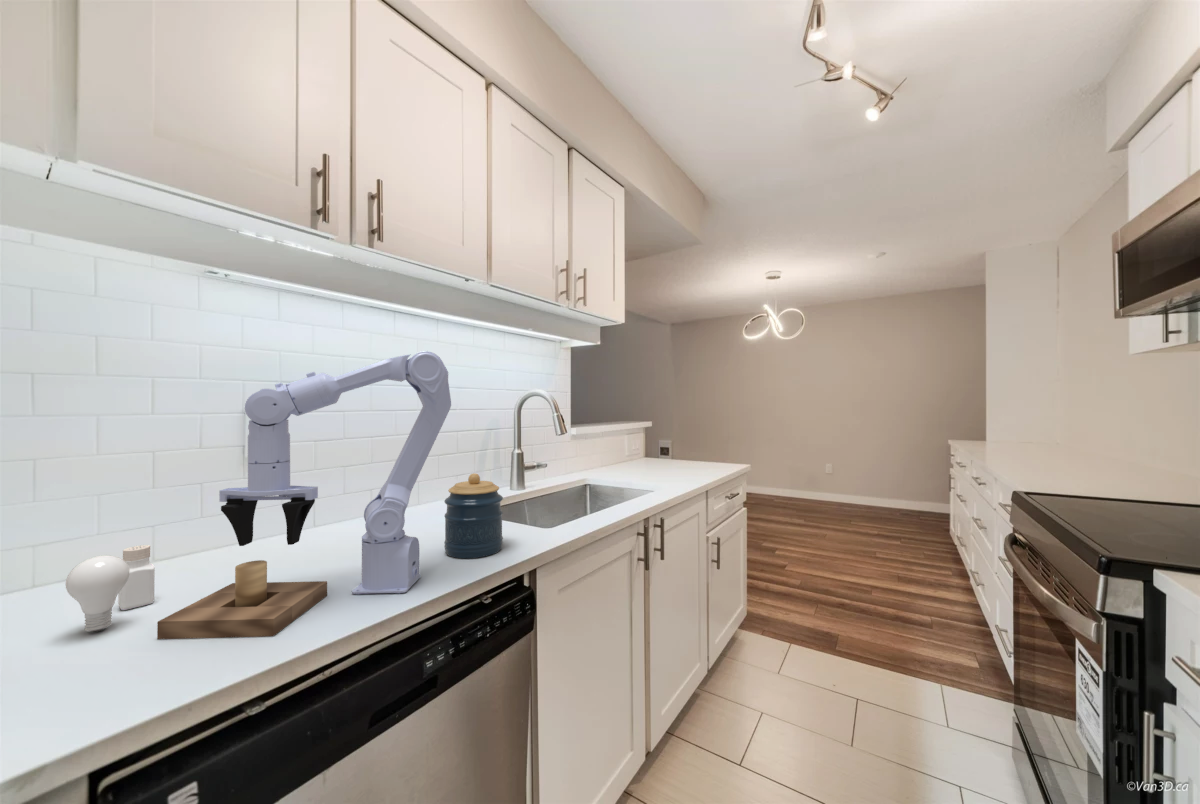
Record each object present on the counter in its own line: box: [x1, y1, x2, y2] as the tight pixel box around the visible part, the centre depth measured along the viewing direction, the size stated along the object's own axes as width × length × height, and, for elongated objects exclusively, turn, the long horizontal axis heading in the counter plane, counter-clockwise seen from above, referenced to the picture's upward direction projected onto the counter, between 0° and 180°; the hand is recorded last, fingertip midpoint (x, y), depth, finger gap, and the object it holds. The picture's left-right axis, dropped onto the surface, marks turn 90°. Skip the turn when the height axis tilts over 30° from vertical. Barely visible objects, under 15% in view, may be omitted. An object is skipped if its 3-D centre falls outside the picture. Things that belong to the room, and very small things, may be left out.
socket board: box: [156, 580, 328, 640], centre depth 72 cm, size 16×14×2 cm
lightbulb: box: [65, 554, 130, 633], centre depth 67 cm, size 6×6×11 cm
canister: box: [443, 472, 504, 559], centre depth 104 cm, size 13×13×18 cm
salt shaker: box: [117, 544, 156, 611], centre depth 76 cm, size 4×4×10 cm
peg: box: [234, 559, 268, 607], centre depth 72 cm, size 4×4×8 cm
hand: (269, 543), depth 75 cm, fingers open, 7 cm apart
